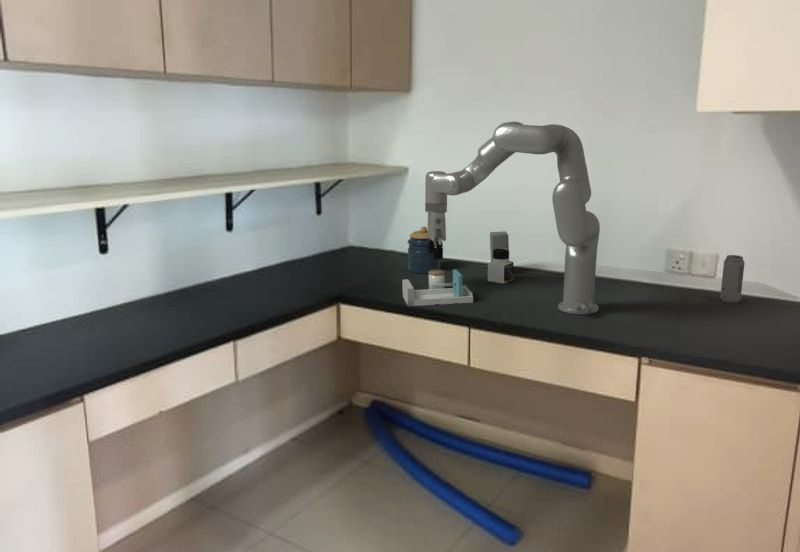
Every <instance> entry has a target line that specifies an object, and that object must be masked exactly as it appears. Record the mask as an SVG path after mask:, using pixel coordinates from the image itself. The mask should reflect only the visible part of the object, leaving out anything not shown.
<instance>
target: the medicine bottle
mask: <svg viewBox="0 0 800 552" xmlns="http://www.w3.org/2000/svg"><path fill="white" fill-rule="evenodd" d="M493 260H494V261H491V260H490V261H489V262H487V282H491V283H497V284H507V283H509V282H511V281H514V261H513V260H510V249H509V250H507V249H504V248H497V249H494V250H493ZM508 260H509V261H508Z"/></svg>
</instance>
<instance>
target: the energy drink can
mask: <svg viewBox="0 0 800 552" xmlns="http://www.w3.org/2000/svg"><path fill="white" fill-rule="evenodd" d="M743 258H744V257H743V255H742V256H741V255H738V254H737V255H736V254H730V255H729V254H728V255H726V258H725V259H724V260H723V270H722V277H721V278H722V279H721V288H720V297H719V298H720V299H721V301H722V302H723V303H728V304H738V303H739V301H740V300H741V299H742V298H741V297H742V291H743V280H744V271H745V261H744V259H743Z"/></svg>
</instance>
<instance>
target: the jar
mask: <svg viewBox="0 0 800 552" xmlns="http://www.w3.org/2000/svg"><path fill="white" fill-rule="evenodd" d="M445 273H446V270H444V269H440V270H439V269H434V270H429V271H428V273H427V274H428V289H446V288H445V287H446V286H441V287H432V284H442V283H446V279H445V276H446V275H445Z"/></svg>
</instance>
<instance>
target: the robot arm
mask: <svg viewBox="0 0 800 552" xmlns="http://www.w3.org/2000/svg"><path fill="white" fill-rule="evenodd" d="M515 153H522V154H530V155H531V154H532V155H547V154H551V153H554V154H555V155H556V158H557V161H556V164H557V172H558V175H559V182H558V183H557V184H556V186H555V187H554V188H553V191H552V198H551V199H552V206H553V214H554V218H555V225H556V229H557V233H558V237H559V239H560V240H561V241H562V243H563V244H565V246H566V248H565V255H564V256H565V257H564V272H563V273H564V274H563V276H564V277H563V298H562V300H563V301H560V302H559V303H558V305H557V309H558V310H560V311H561V312H563V313H565V314H570V315H592V314H595V313H598V312H599V311H600V310H599V305H598V304H597V303H595V287H596V268H597V254H598V244H599V238H600V232H601V231H600V230H601V229H600V227H601V226H600V221H599V219H598V217H597V215H595V213H593V212H592V211H589V210H587V207H586V204H588V202H589V201H590V199H591V197H592V188H591V183H590V178H589V173H588V167H587V161H586V157H585V151H584V146H583V143H582V141H581V138H580V136H579V135H578V134H577V132H576V131H574V130H573V129H572V128H570V127H567V126H565V125H562V124H556V123H555V124H553V123H550V124H546V125H545V124H544V125H531V124H530V125H529V124H524V123H522V122H519V121H507V122H502V123H501V124H499V125H498V126H497V127H496V128H495V129H494V131H493V133H492V136H491V138H489V139H488V140H487V141H486V142H484V143H483V144H482V145H481V146H480V147H479V148H478V149H477V156H476V157H475V159H473V160H472V162H470V163H469V164H468V165H466V167H464V168H463V169H462V170H459V171H455V172H450V173H446V172H445V171H440V170H431V171H428V172H426V173H425V183H424V184H425V187H424V188H425V190H424V191H425V192H424V193H425V194H424V195H425V198H424V199H425V201H424V204H425V205H424V206H425V208H424V209H425V210H424V211H425V213H427V231H428V237H429V242H428V252H429V253H433V258H434V259H440V260H443V259H444V245H443V242H446V240H447V235H446V234H447V233H446V232H447V231H446V230H447V228H446V223H447V222H446V213H447V212H448V196H452V197H453V196H458V195H462V194H464V193H468V192H470V191H471V190H473V189H475V188H476V187H477V186H478V185H480V183H481V184H482V182H483V181H484V180H486V179H487V178H488V177H489V176H490V175H491V174H493V172H494V171H495V170H496V169H497V168H498V167H499V166H501V164H503V163H504V162H506V160H508V159H509V158H510V157H511V156H513V155H514V154H515Z"/></svg>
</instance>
